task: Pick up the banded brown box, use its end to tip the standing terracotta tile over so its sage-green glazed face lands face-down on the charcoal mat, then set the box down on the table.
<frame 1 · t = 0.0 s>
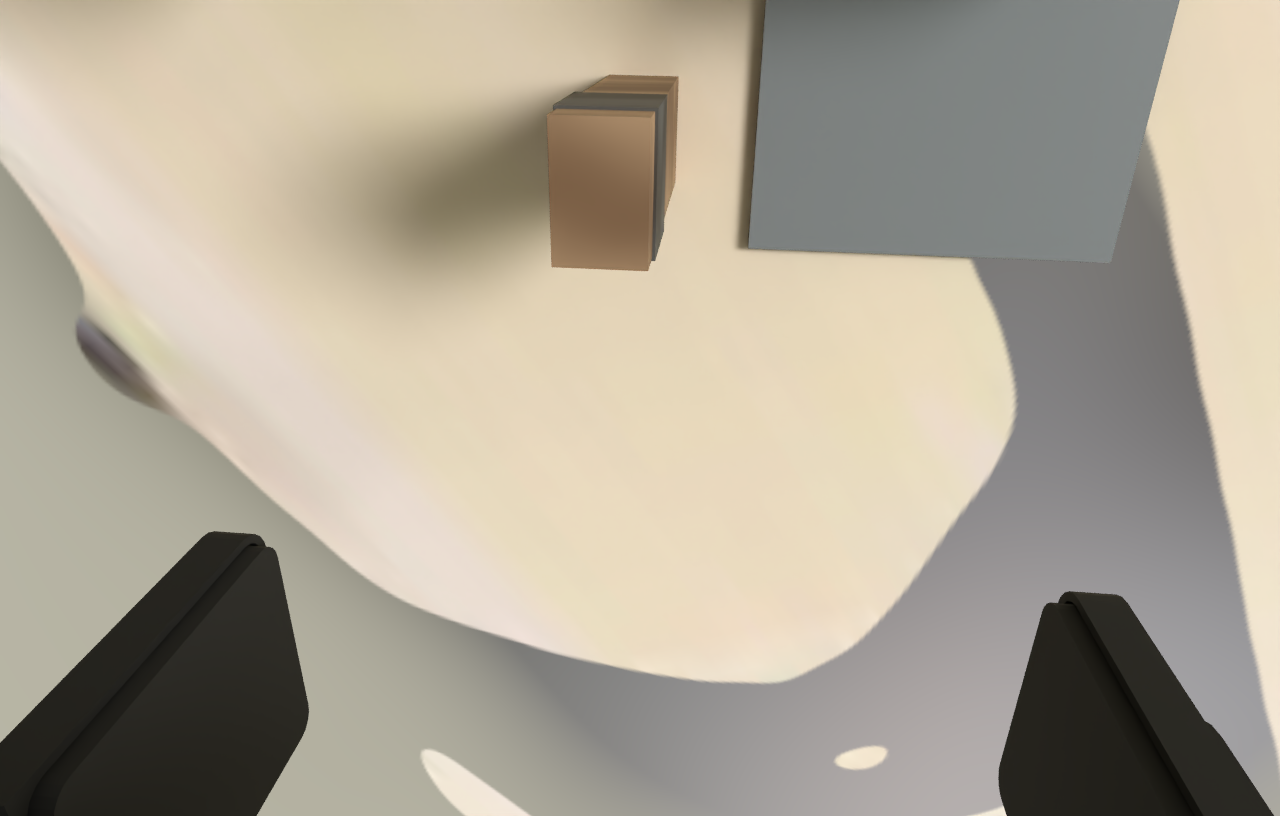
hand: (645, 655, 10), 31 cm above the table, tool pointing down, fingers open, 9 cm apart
banded brown box: (643, 129, 38), on the table
mat: (954, 64, 35), on the table
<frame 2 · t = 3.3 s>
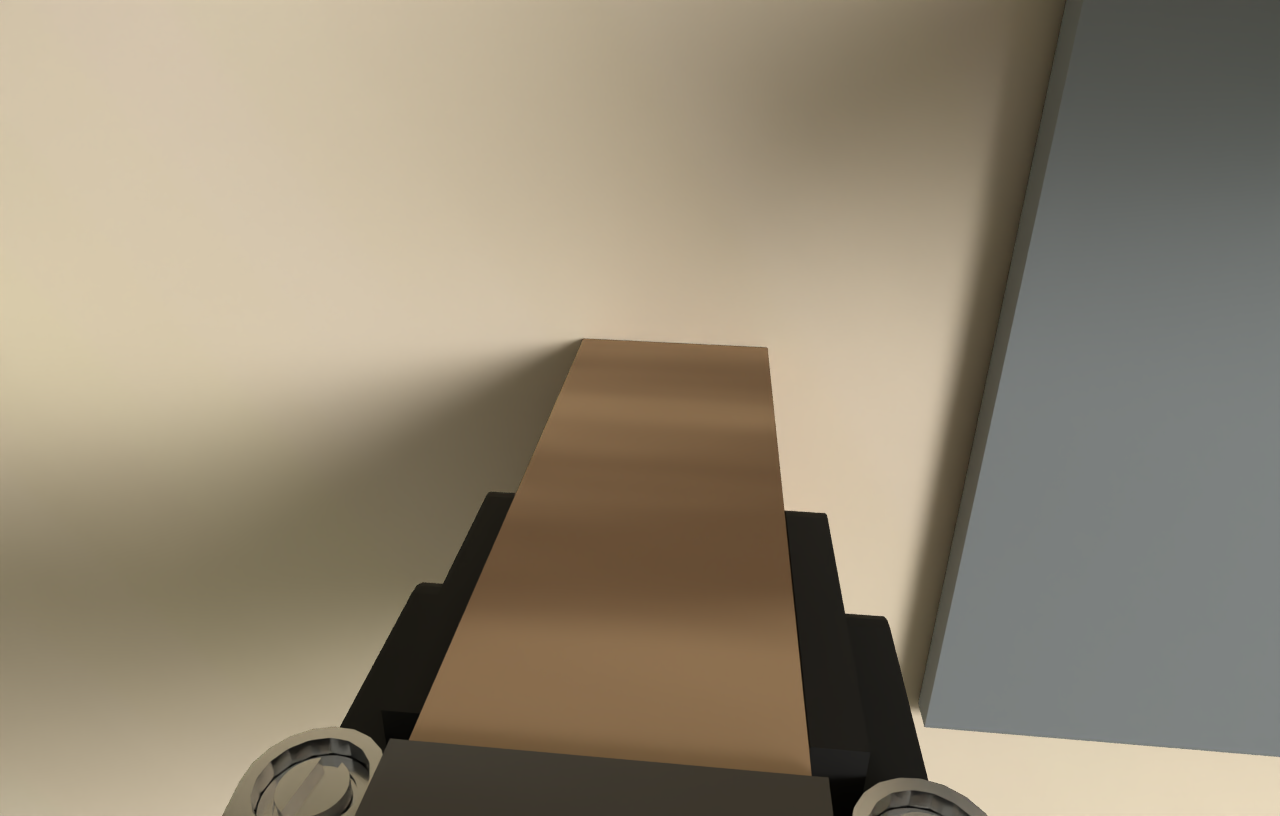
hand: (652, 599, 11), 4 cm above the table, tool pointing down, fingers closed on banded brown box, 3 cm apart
banded brown box: (670, 463, 15), on the table, touching gripper
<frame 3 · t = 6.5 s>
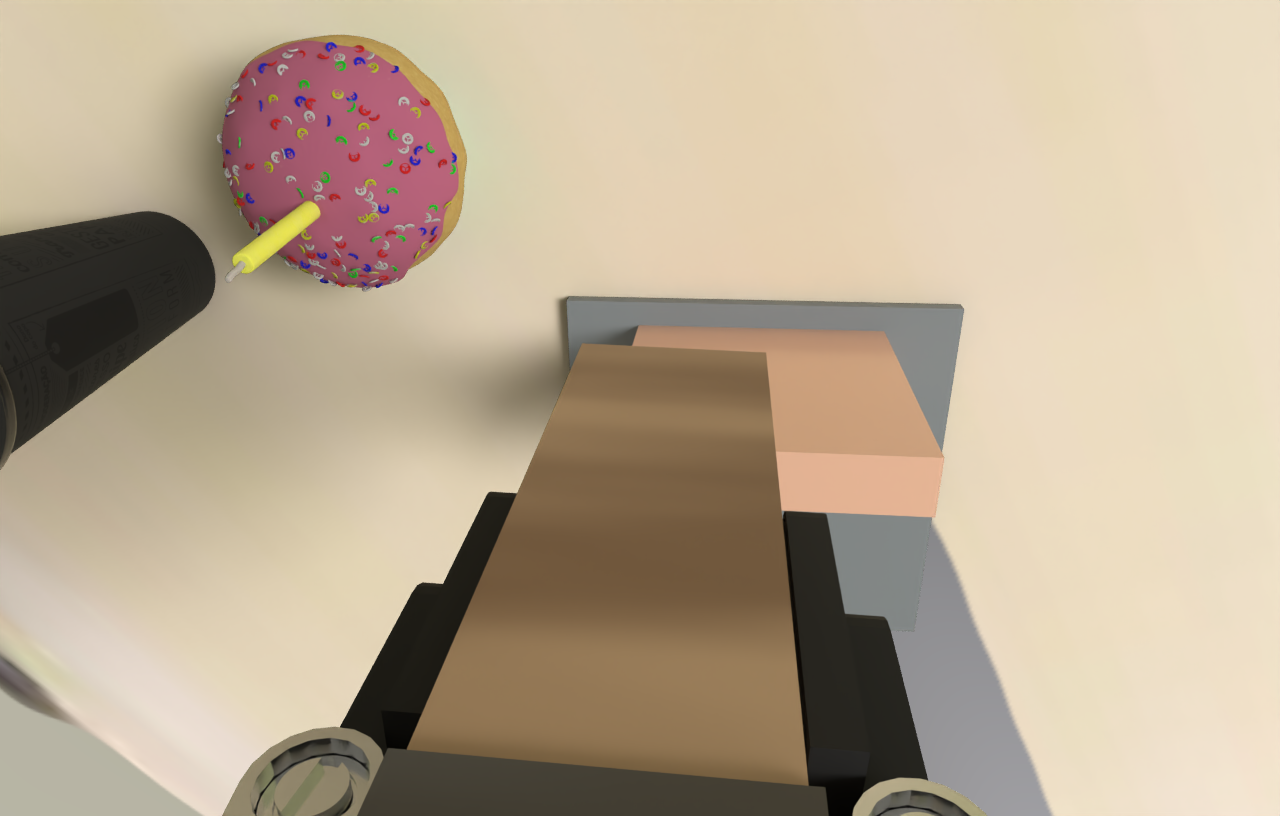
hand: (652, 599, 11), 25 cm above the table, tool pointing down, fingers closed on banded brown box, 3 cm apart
drinking cup: (164, 264, 37), on the table
banded brown box: (669, 468, 15), point 21 cm above the table, touching gripper
mat: (751, 470, 38), on the table
tile: (758, 350, 35), point 1 cm above the table, touching mat
cupcake: (392, 147, 34), on the table
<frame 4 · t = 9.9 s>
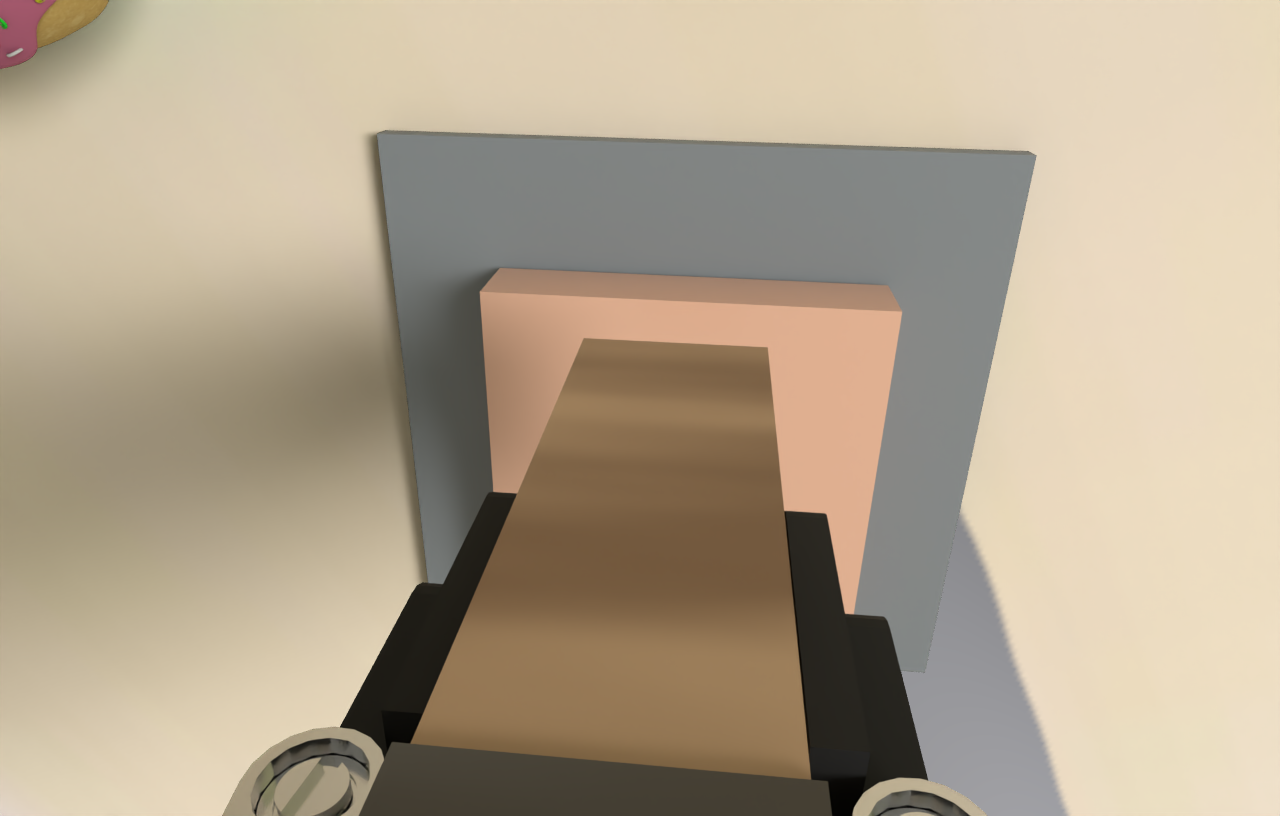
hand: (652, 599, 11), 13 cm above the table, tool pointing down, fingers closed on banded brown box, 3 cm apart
banded brown box: (670, 462, 15), point 9 cm above the table, touching gripper
mat: (684, 425, 25), on the table
tile: (688, 288, 21), point 2 cm above the table, tilted 90°, touching mat
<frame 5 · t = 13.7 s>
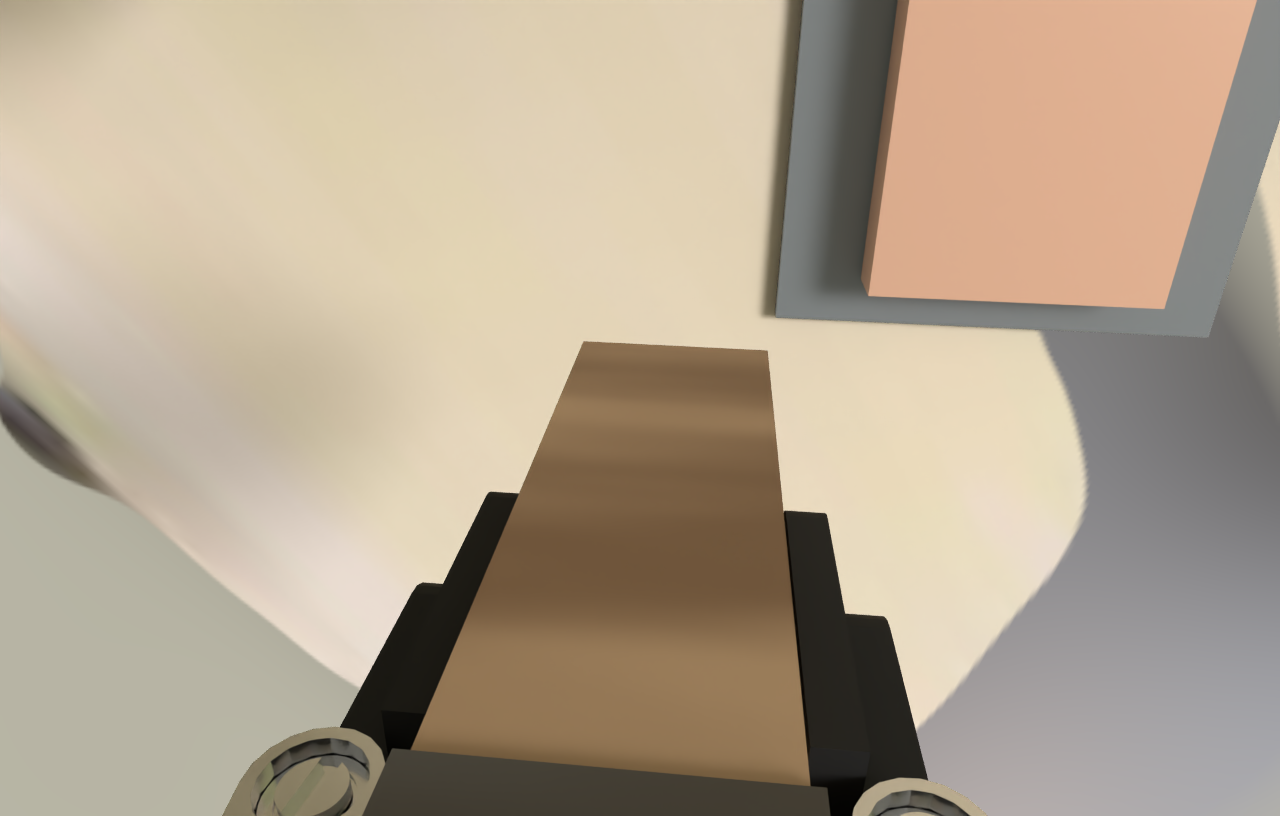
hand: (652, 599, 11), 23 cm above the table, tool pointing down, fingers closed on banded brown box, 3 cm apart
banded brown box: (670, 465, 15), point 19 cm above the table, touching gripper
mat: (1027, 103, 29), on the table
when the fingers open (6 cm above the table, at t = 16.9 s): banded brown box drops 2 cm, on the table.
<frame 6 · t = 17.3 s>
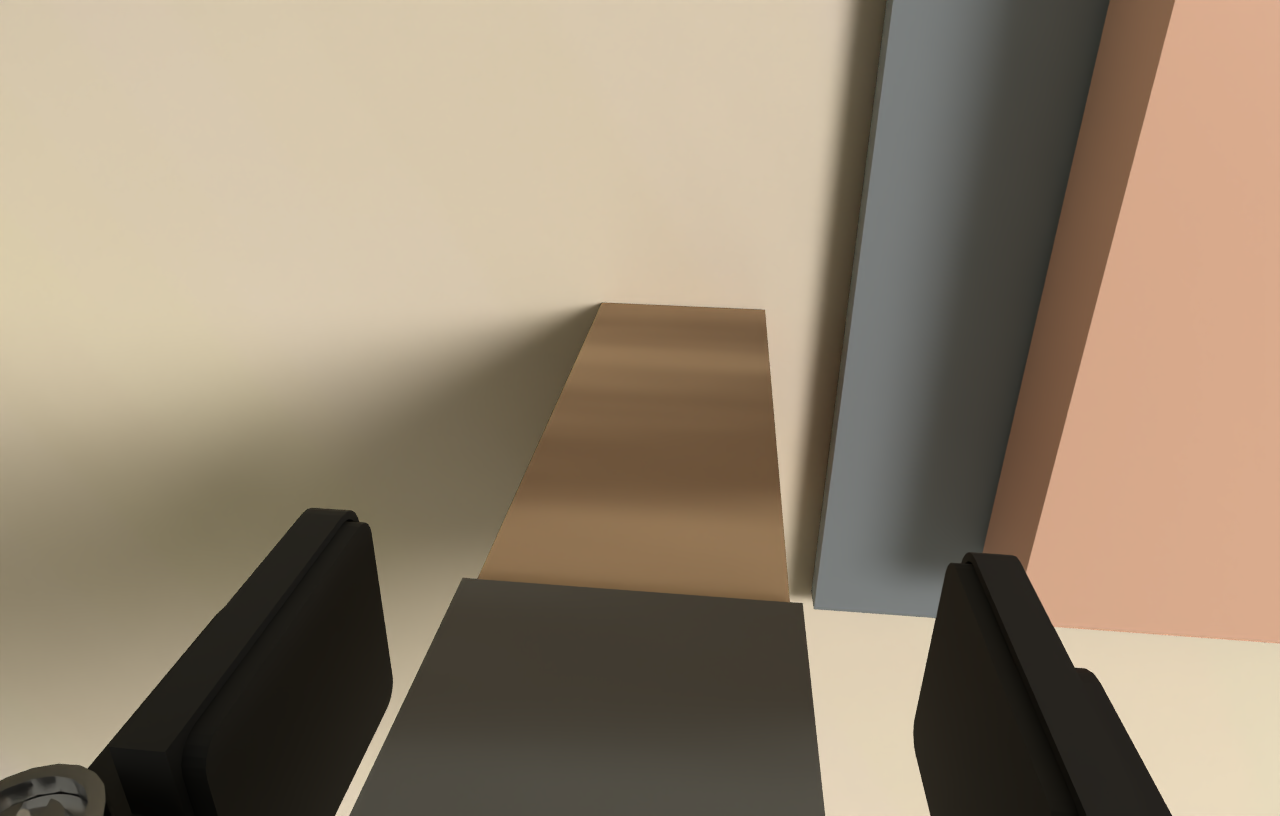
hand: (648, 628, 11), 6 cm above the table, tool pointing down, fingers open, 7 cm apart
banded brown box: (678, 416, 17), on the table
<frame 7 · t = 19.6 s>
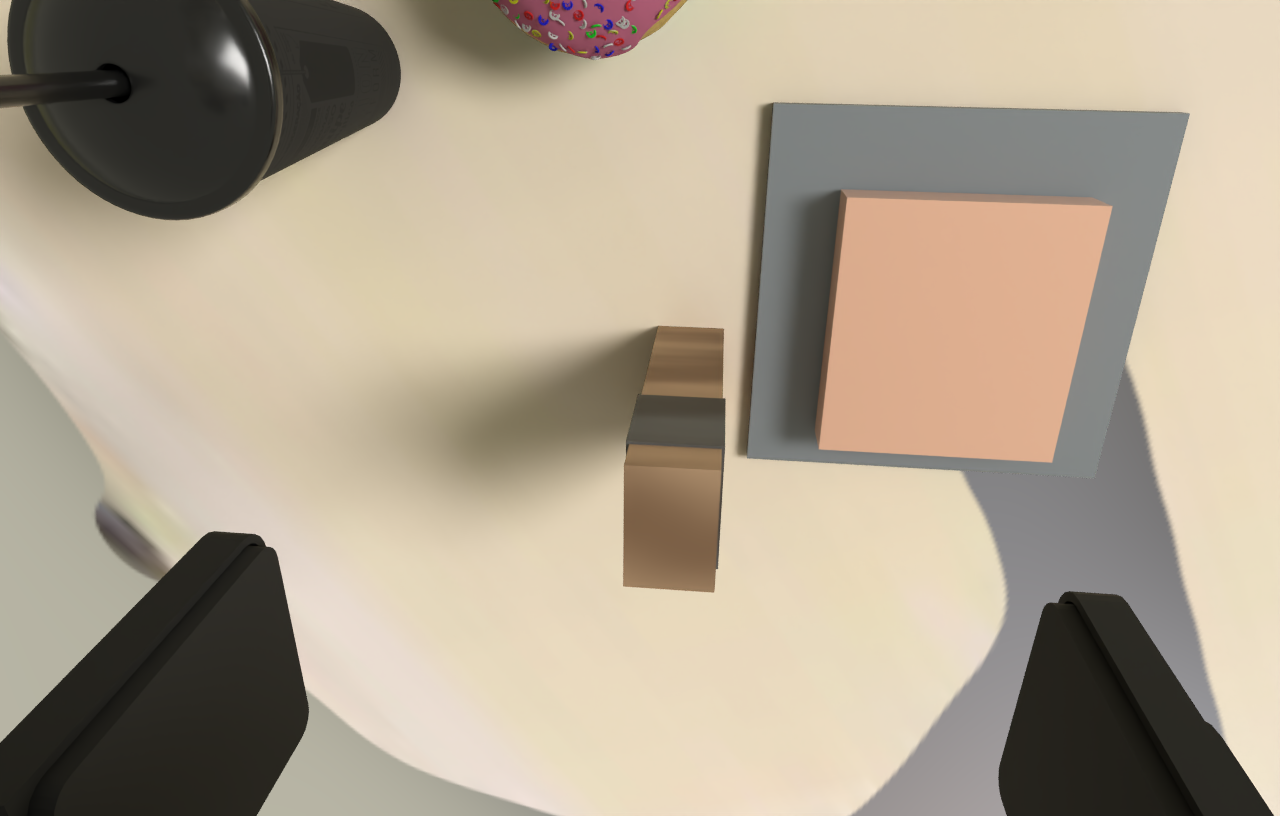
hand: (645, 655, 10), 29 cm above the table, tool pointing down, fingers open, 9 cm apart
drinking cup: (346, 66, 36), on the table
banded brown box: (689, 373, 40), on the table
mat: (942, 300, 37), on the table
tile: (971, 197, 34), point 2 cm above the table, tilted 90°, touching mat
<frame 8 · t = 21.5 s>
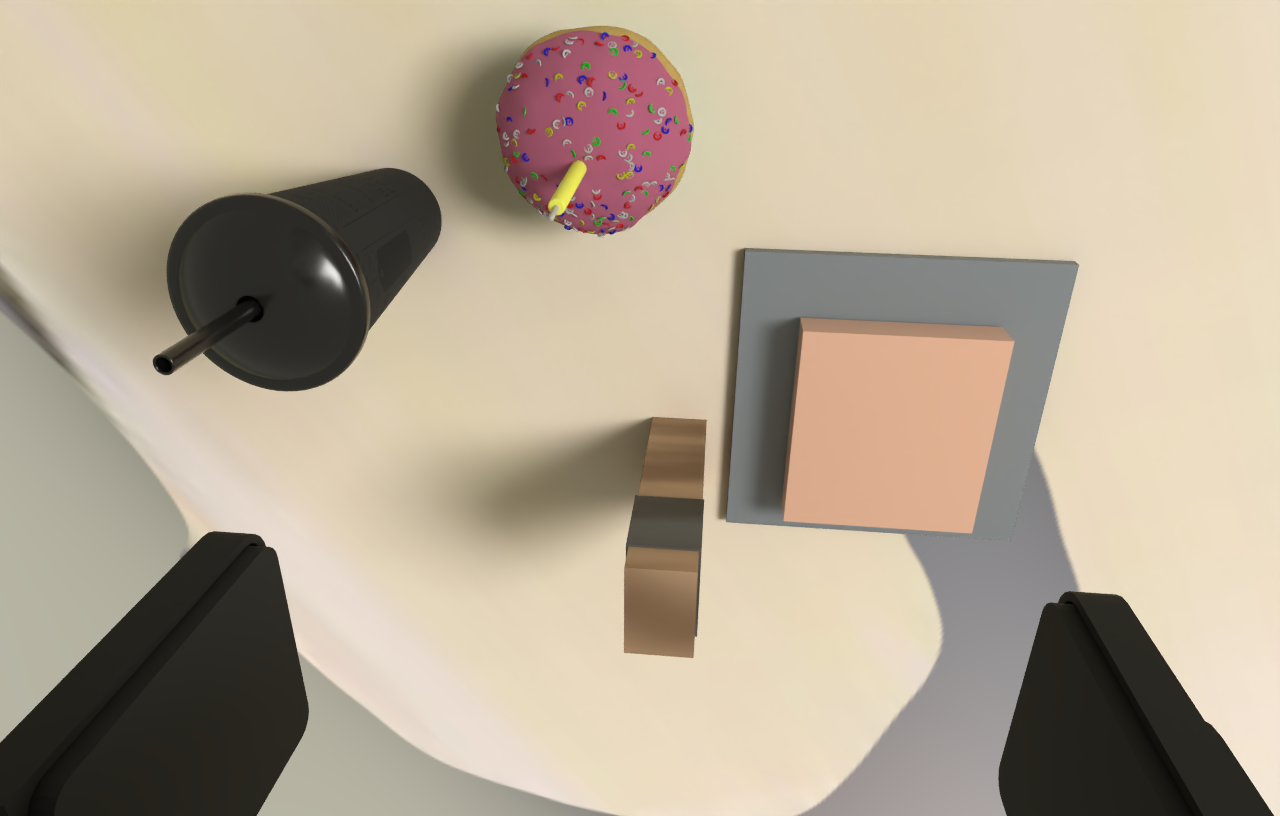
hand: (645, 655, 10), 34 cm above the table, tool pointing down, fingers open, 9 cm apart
drinking cup: (397, 214, 44), on the table
banded brown box: (678, 454, 48), on the table
mat: (884, 400, 46), on the table
tile: (904, 329, 42), point 2 cm above the table, tilted 90°, touching mat
cupcake: (607, 118, 41), on the table
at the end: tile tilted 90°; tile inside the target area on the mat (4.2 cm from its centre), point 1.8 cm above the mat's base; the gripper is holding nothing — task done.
